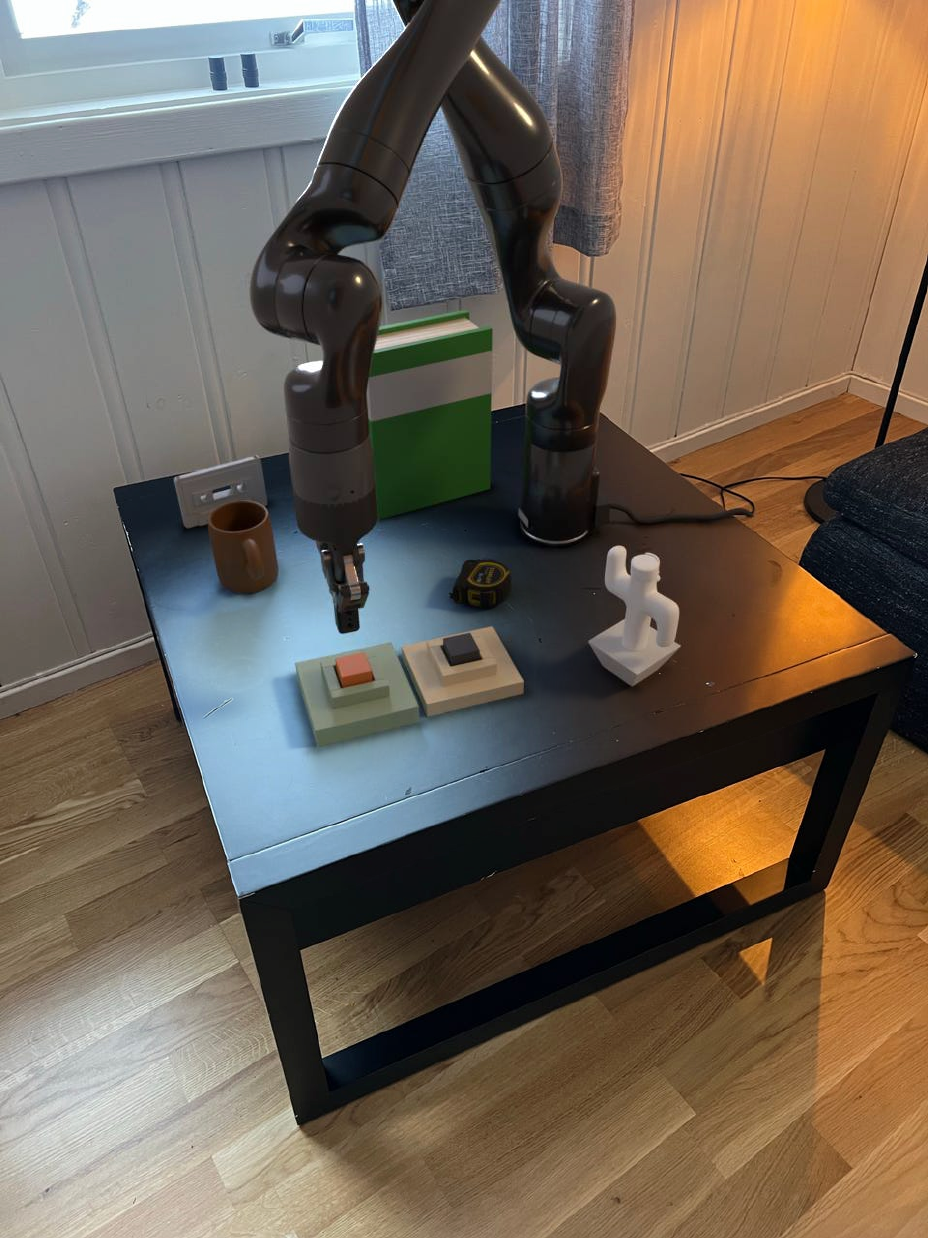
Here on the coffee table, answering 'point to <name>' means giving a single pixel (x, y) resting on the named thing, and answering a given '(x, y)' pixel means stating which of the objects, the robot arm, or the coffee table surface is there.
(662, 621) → the figurine
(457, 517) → the coffee table surface
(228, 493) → the cassette
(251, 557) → the mug
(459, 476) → the hardback book
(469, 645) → the key
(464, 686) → the beige push button
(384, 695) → the green stepped square block
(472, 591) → the tape measure
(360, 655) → the key
